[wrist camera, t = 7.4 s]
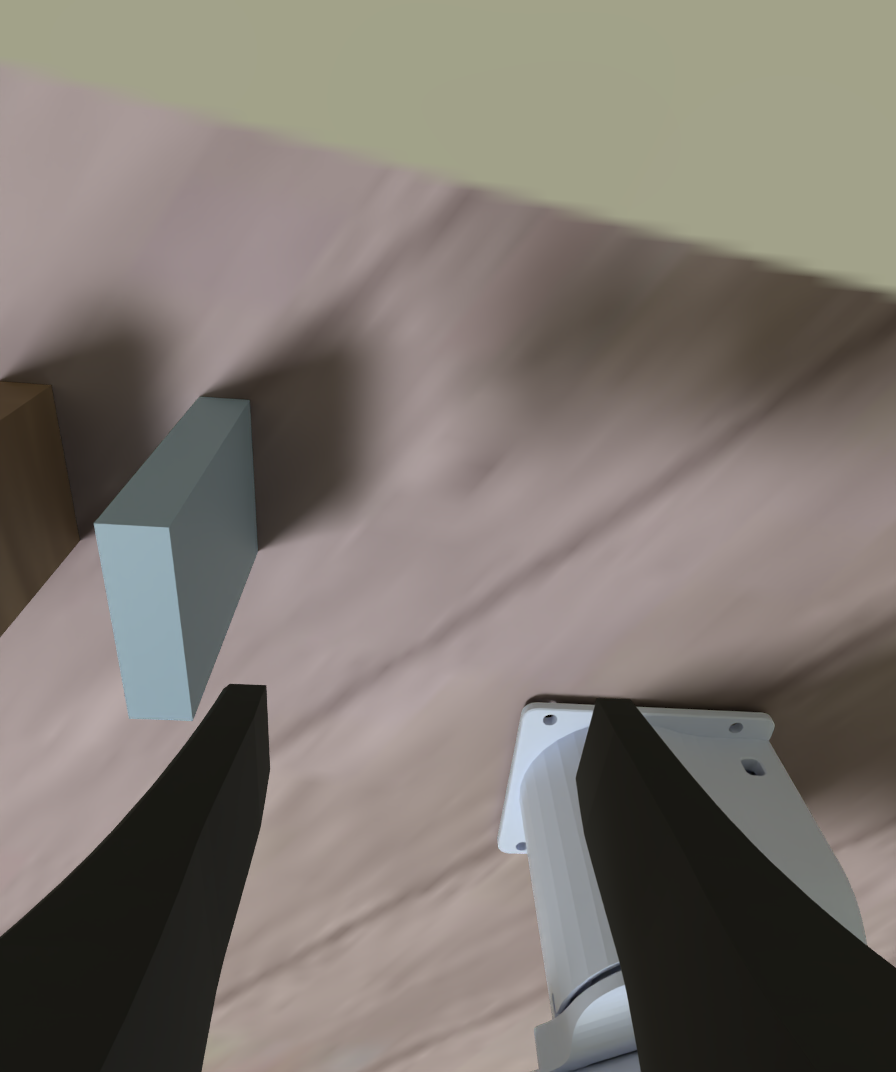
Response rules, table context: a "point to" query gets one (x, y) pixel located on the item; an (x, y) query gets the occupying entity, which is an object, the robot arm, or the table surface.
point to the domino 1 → (31, 496)
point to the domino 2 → (180, 557)
